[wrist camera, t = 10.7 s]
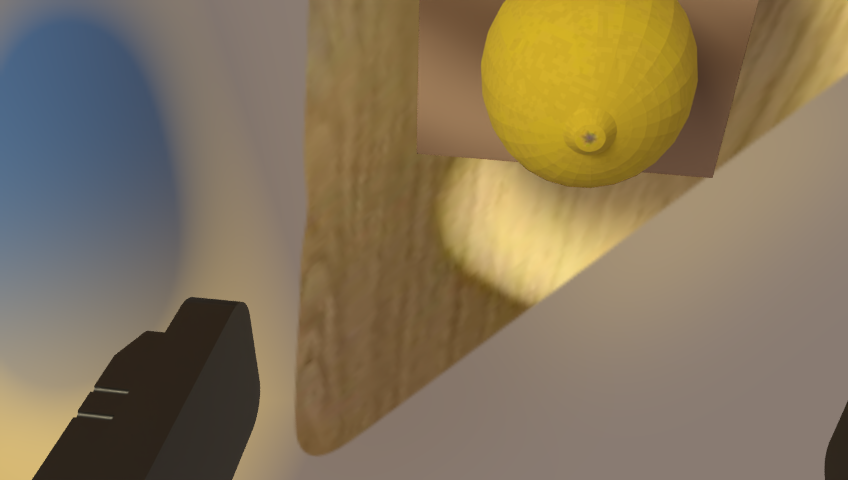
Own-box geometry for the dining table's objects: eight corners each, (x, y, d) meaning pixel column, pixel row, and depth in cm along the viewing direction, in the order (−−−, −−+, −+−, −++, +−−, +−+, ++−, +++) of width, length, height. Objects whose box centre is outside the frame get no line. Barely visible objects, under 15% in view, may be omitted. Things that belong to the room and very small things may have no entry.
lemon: (698, -68, 22) (752, 30, 16) (656, 111, 25) (687, 255, 19) (501, -84, 23) (476, 5, 16) (484, 94, 26) (457, 228, 19)
